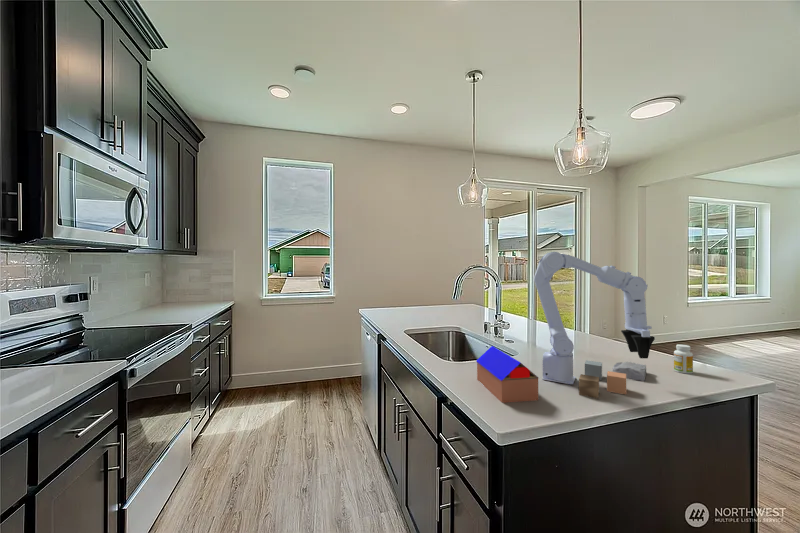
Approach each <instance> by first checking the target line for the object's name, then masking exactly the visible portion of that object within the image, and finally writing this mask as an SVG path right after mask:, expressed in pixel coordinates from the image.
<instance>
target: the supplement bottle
mask: <svg viewBox="0 0 800 533" xmlns="http://www.w3.org/2000/svg"><path fill="white" fill-rule="evenodd" d="M675 348H676V350H674V351H673V370H674V371H675V372H677V373H679V374H694V353H693V352H692V351H691V346H690V345H689V344H681V343H680V344H678V343H677V344H676V346H675Z"/></svg>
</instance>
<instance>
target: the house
mask: <svg viewBox="0 0 800 533" xmlns="http://www.w3.org/2000/svg"><path fill="white" fill-rule="evenodd" d="M475 362H476V380H477V381H478V382H479V381H480V382H481V383H482V384H483V385H484V386H483V385H482V384H481V385H482V386H483V387H485V389H487V390H488V391H489V392H490V393H491V394H492V395H493V396H494V397H495V399H497V400H498V401H499V402H500V403H504V404H505V403H516V402H517V403H518V402H531V401H539V376H538V375H536V374H535V373H534V372H533V371H532V370H530V369H529V368H528V367H527V366H525V365H524V364H523V363H522V362H521V361H519V360H517V359H515V358H514V357H512V356H510V355H508V354H506V353H505V352H503V351H502V350H500V349H499V348H497V347H495V346H493V345H491V346H490V347H489V348H487V350H486V351H485V352H484V353H482V355H480V357H478V359H476V360H475ZM480 382H479V383H480Z"/></svg>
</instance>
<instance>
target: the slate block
mask: <svg viewBox="0 0 800 533" xmlns="http://www.w3.org/2000/svg"><path fill="white" fill-rule="evenodd" d="M584 375H589V376H595V377H599V381H602V379H603V362H601V361H596V360H595V361H594V360H588V359H586V360H585V361H584Z"/></svg>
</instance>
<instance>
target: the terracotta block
mask: <svg viewBox="0 0 800 533" xmlns="http://www.w3.org/2000/svg"><path fill="white" fill-rule="evenodd" d="M606 392H610V393H616V394H620V395H627V379H626V374H624V373H617V372H613V371H611V370H610V371H608V370H607V374H606Z"/></svg>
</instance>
